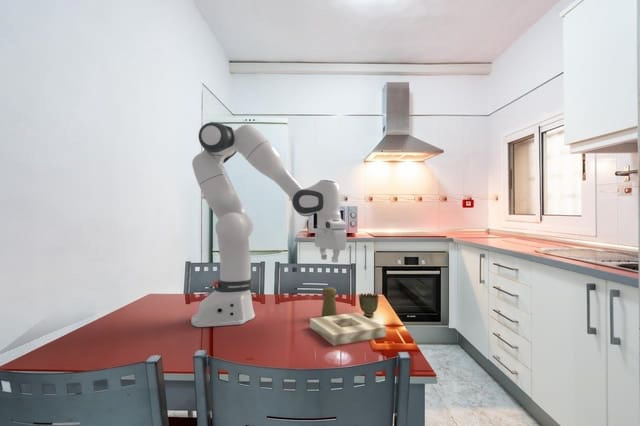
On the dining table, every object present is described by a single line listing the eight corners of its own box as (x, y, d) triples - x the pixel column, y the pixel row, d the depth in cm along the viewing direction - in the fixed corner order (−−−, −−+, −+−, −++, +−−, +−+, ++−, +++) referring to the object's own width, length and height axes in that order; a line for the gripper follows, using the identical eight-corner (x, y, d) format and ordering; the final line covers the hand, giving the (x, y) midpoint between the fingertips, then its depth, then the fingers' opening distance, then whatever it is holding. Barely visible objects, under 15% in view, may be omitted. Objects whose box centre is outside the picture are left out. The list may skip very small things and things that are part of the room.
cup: (378, 319, 121) (378, 297, 121) (358, 318, 122) (357, 296, 123) (379, 314, 128) (378, 293, 128) (359, 313, 130) (359, 292, 130)
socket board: (333, 345, 96) (333, 335, 96) (310, 327, 112) (310, 318, 113) (385, 336, 103) (385, 327, 103) (356, 320, 120) (356, 312, 120)
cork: (326, 320, 120) (326, 289, 120) (318, 316, 126) (318, 286, 126) (340, 318, 123) (340, 288, 123) (332, 314, 128) (332, 285, 129)
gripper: (310, 223, 133) (310, 258, 133) (333, 224, 115) (333, 264, 114) (325, 223, 136) (325, 257, 136) (349, 223, 117) (349, 263, 117)
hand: (329, 260), depth 125 cm, fingers open, 8 cm apart
